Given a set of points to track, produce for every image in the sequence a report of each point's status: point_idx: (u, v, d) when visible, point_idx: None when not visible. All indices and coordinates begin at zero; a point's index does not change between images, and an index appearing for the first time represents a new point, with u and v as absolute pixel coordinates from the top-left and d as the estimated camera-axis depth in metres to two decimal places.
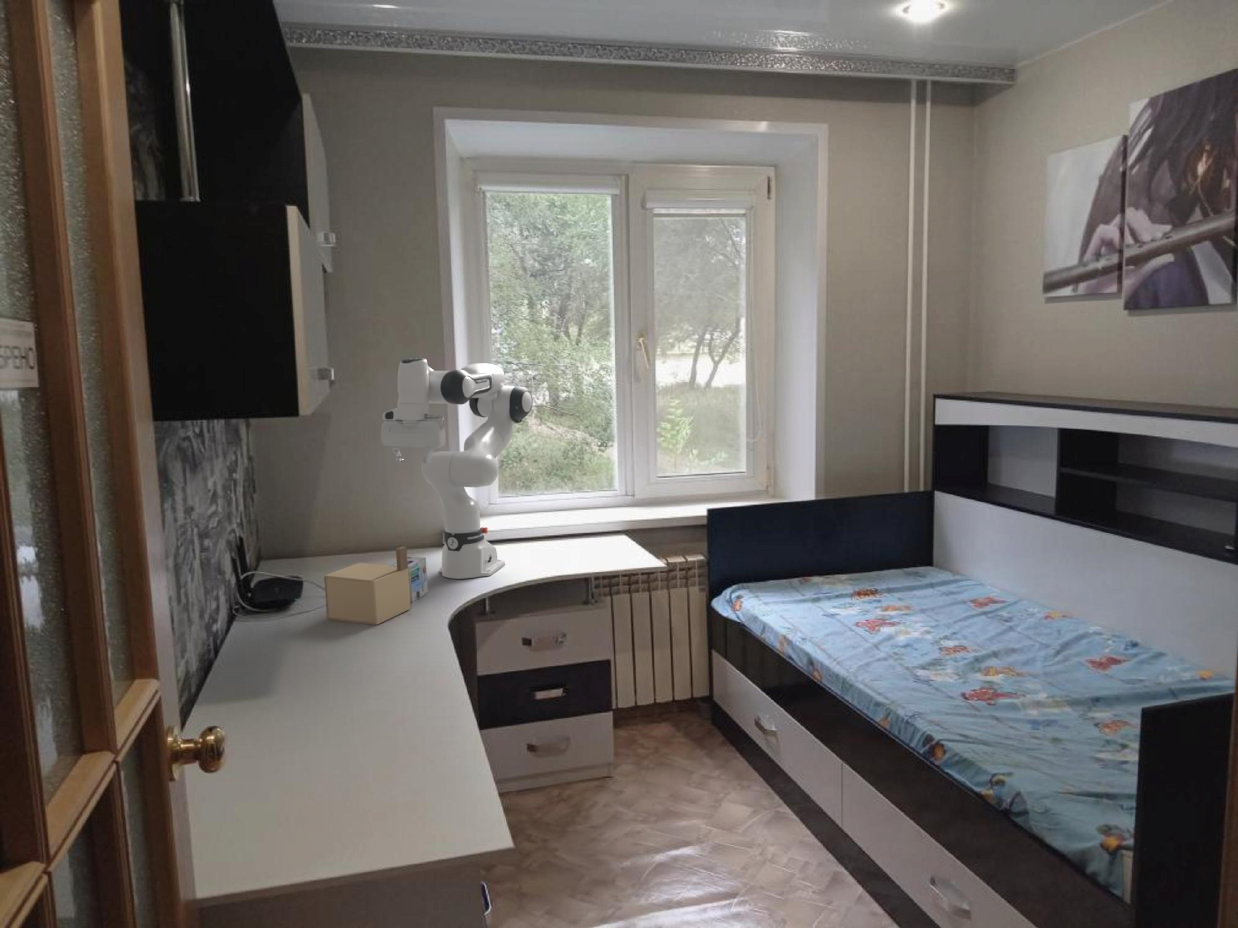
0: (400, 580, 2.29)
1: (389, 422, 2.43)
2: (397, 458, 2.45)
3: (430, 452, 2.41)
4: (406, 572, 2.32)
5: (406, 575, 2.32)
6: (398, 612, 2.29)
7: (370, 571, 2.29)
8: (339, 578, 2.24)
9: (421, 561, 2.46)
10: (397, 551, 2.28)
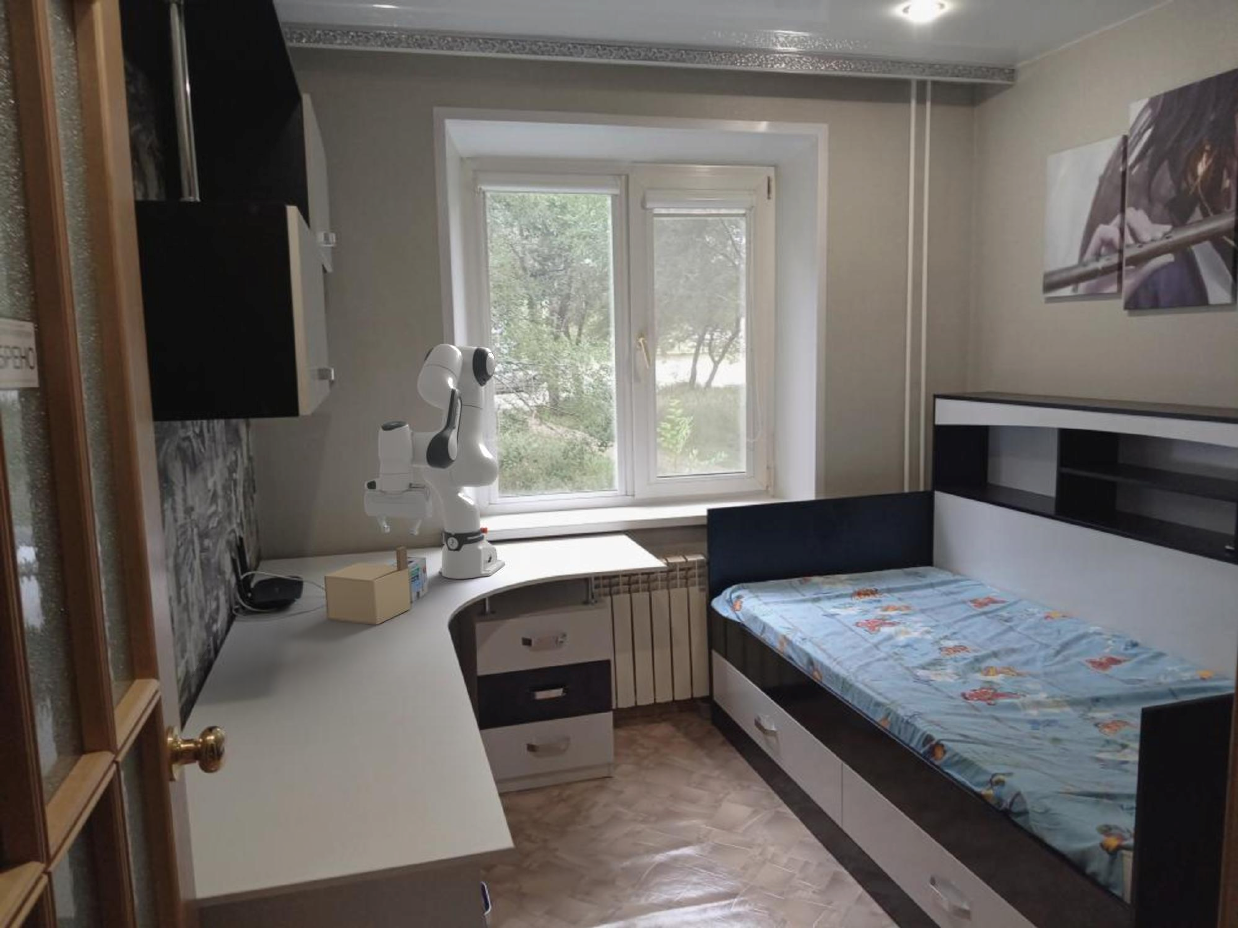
0: (400, 580, 2.29)
1: (372, 492, 2.27)
2: (383, 529, 2.30)
3: (417, 523, 2.26)
4: (406, 572, 2.32)
5: (406, 575, 2.32)
6: (398, 612, 2.29)
7: (370, 571, 2.29)
8: (339, 578, 2.24)
9: (421, 561, 2.46)
10: (397, 551, 2.28)
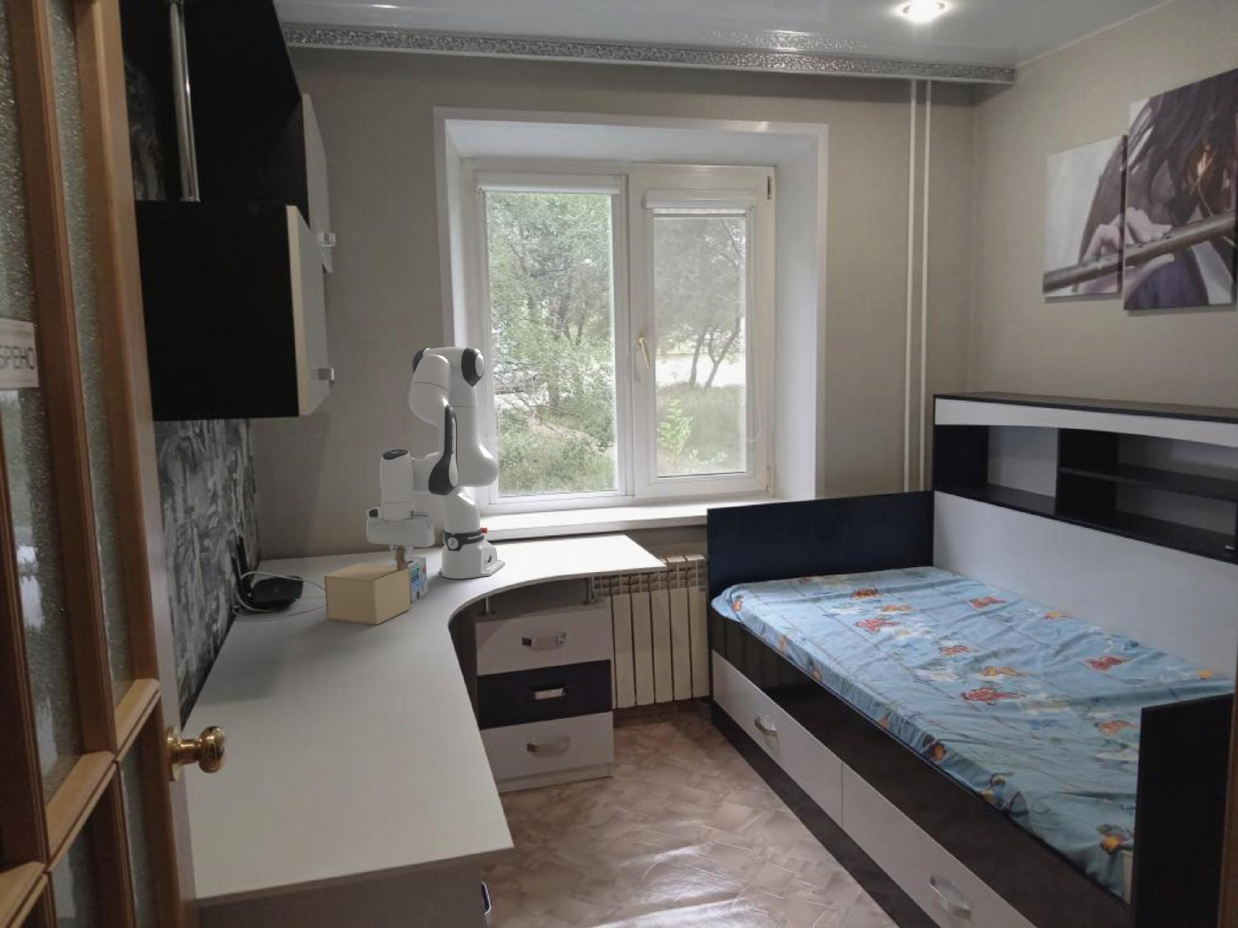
0: (400, 580, 2.29)
1: (374, 520, 2.29)
2: (395, 557, 2.30)
3: (409, 550, 2.28)
4: (406, 572, 2.32)
5: (406, 575, 2.32)
6: (398, 612, 2.29)
7: (370, 571, 2.29)
8: (339, 578, 2.24)
9: (421, 561, 2.46)
10: (397, 551, 2.28)
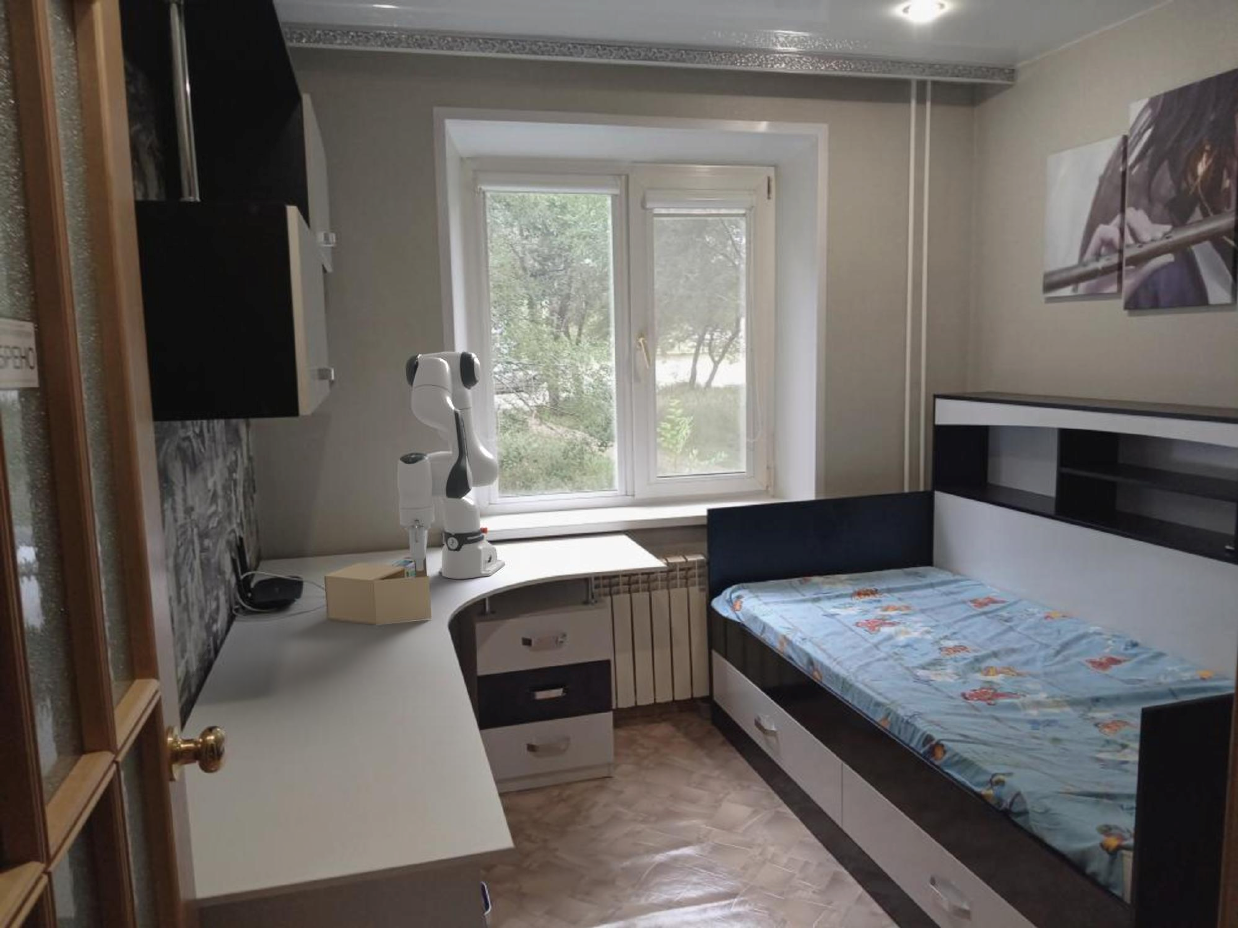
0: (415, 587, 2.22)
1: None
2: None
3: (417, 560, 2.18)
4: (426, 580, 2.23)
5: (425, 583, 2.23)
6: (410, 618, 2.23)
7: (370, 571, 2.29)
8: (339, 578, 2.24)
9: None
10: None
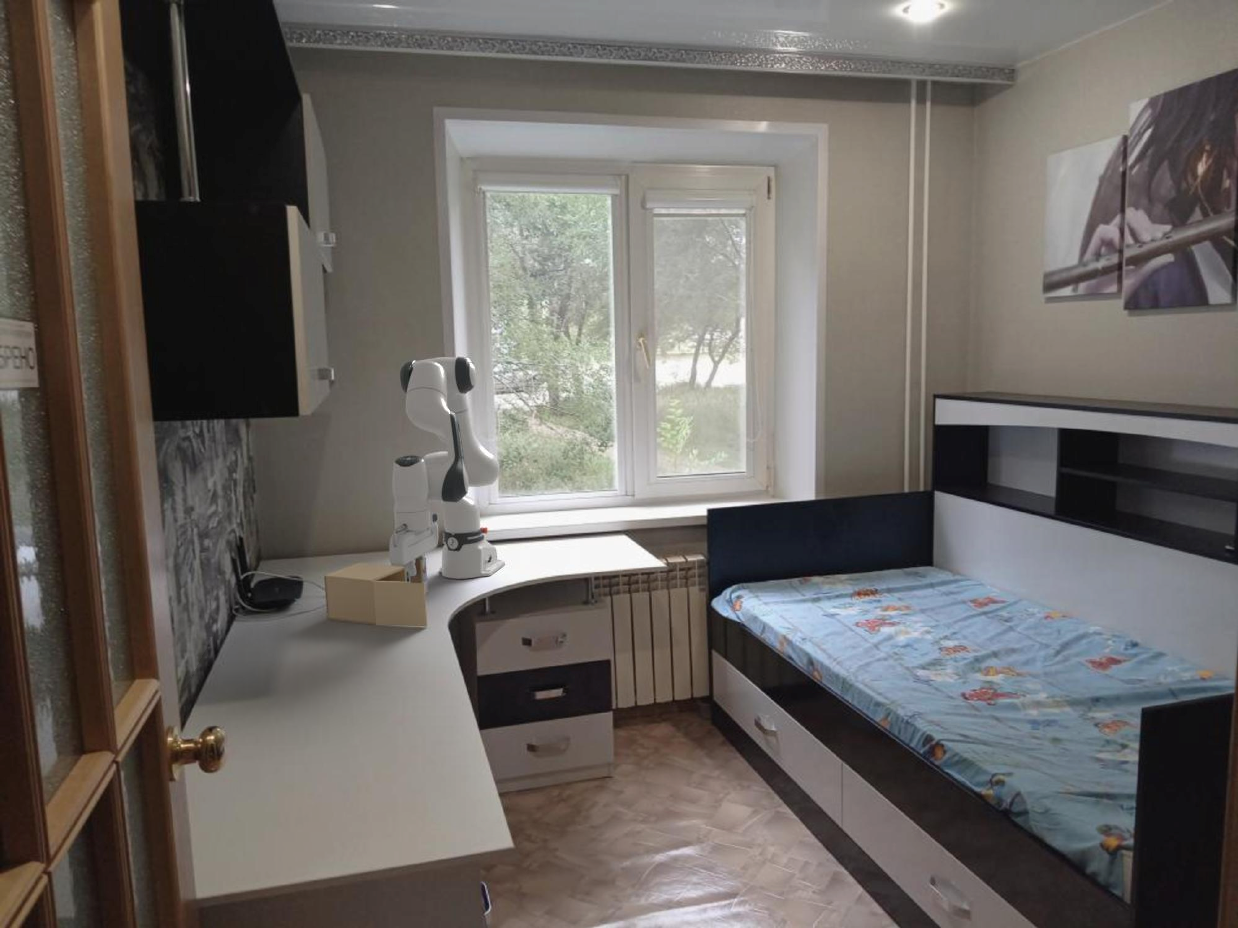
0: (411, 592, 2.18)
1: None
2: None
3: (407, 565, 2.13)
4: (421, 587, 2.17)
5: (420, 590, 2.17)
6: (407, 623, 2.19)
7: (370, 571, 2.29)
8: (339, 578, 2.24)
9: None
10: None
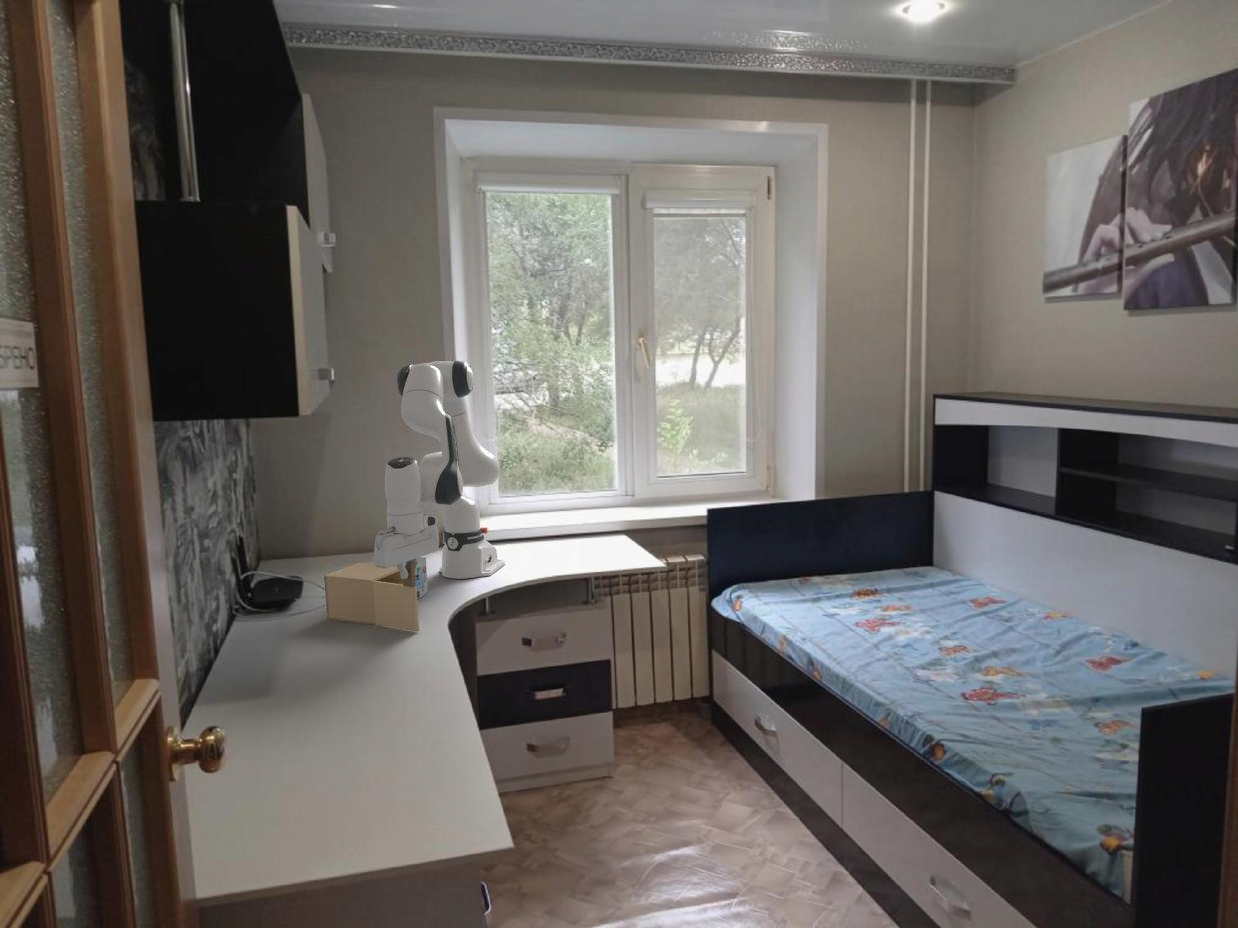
0: (404, 595, 2.15)
1: None
2: None
3: (398, 567, 2.11)
4: (412, 591, 2.13)
5: (412, 594, 2.13)
6: (401, 627, 2.17)
7: (370, 571, 2.29)
8: (339, 578, 2.24)
9: (421, 561, 2.46)
10: None
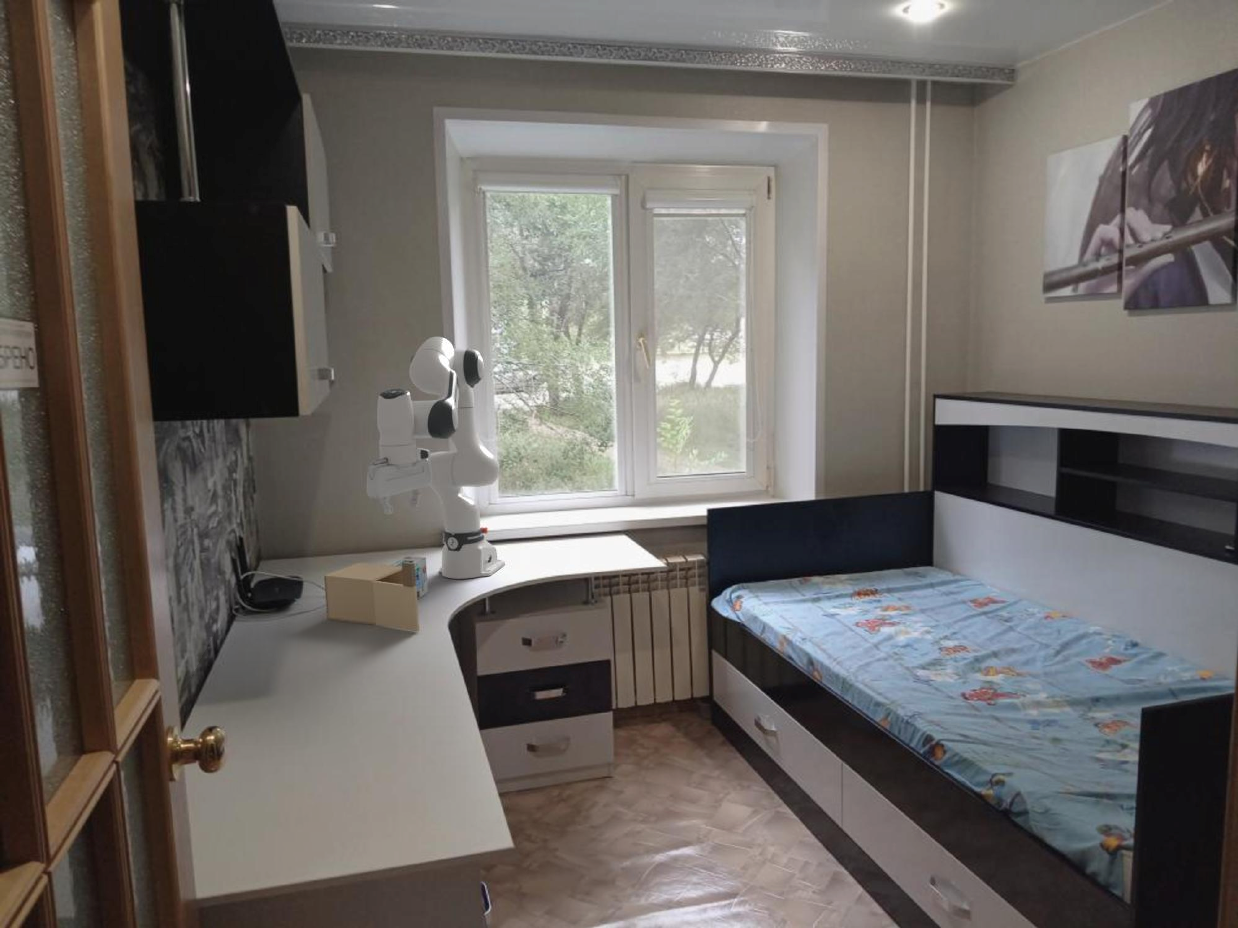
0: (404, 595, 2.15)
1: None
2: None
3: (382, 502, 2.07)
4: (412, 591, 2.13)
5: (412, 594, 2.13)
6: (401, 627, 2.17)
7: (370, 571, 2.29)
8: (339, 578, 2.24)
9: (421, 561, 2.46)
10: None
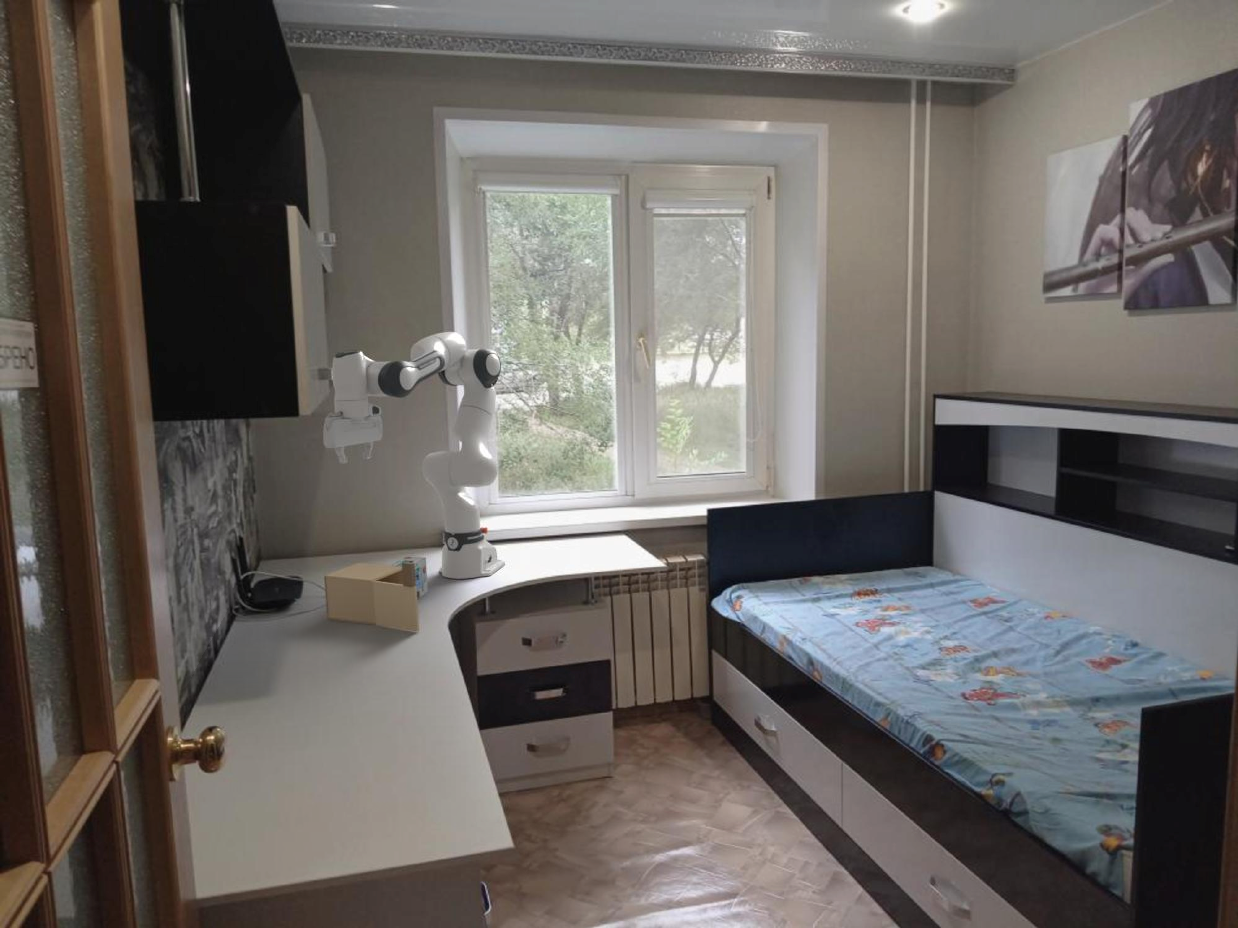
0: (404, 595, 2.15)
1: None
2: None
3: (337, 452, 2.27)
4: (412, 591, 2.13)
5: (412, 594, 2.13)
6: (401, 627, 2.17)
7: (370, 571, 2.29)
8: (339, 578, 2.24)
9: (421, 561, 2.46)
10: None
